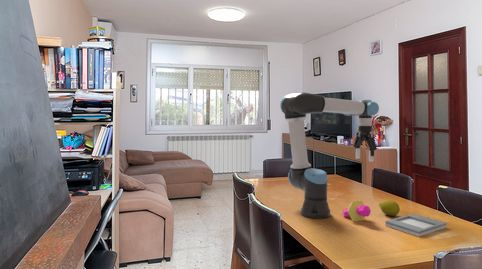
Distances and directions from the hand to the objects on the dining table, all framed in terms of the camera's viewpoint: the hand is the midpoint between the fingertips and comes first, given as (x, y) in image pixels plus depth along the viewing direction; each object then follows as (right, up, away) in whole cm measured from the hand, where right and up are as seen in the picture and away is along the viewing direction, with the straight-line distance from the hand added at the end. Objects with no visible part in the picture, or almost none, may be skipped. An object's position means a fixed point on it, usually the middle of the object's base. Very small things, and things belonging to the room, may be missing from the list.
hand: (364, 160), depth 195 cm
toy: (-17, -27, -35) cm, 48 cm away
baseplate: (+6, -27, -46) cm, 54 cm away
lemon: (+2, -27, -28) cm, 39 cm away
